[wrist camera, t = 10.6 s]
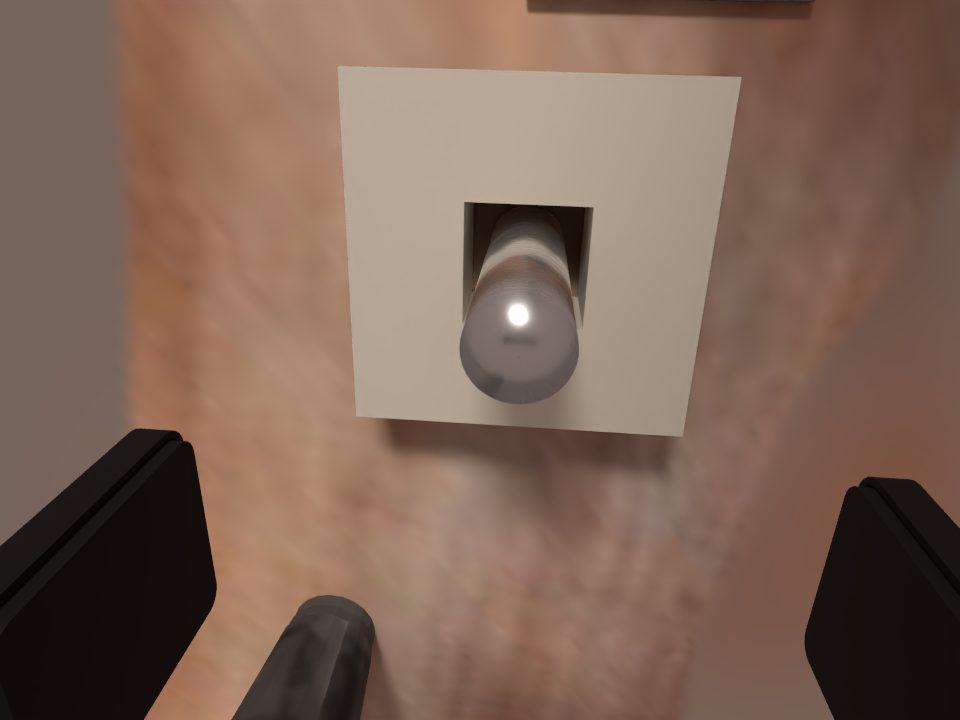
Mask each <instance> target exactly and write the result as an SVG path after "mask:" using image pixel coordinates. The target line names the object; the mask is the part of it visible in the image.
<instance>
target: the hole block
mask: <svg viewBox="0 0 960 720" xmlns="http://www.w3.org/2000/svg"><path fill="white" fill-rule="evenodd" d="M741 79H742V77H725V76H688V75H651V74H614V73H577V72H540V71H503V70H466V69H429V68H392V67H355V66H338V82H339V101H340V120H341V138H342V157H343V176H344V195H345V213H346V232H347V251H348V270H349V288H350V307H351V326H352V345H353V363H354V382H355V401H356V416H358V417H374V418H390V419H406V420H422V421H438V422H454V423H470V424H486V425H502V426H518V427H534V428H550V429H566V430H582V431H598V432H614V433H630V434H646V435H662V436H678V437H683V431H684V425H685V419H686V413H687V406H688V400H689V394H690V388H691V382H692V376H693V370H694V364H695V358H696V352H697V346H698V340H699V334H700V328H701V321H702V315H703V309H704V303H705V297H706V291H707V285H708V279H709V273H710V267H711V261H712V255H713V249H714V243H715V236H716V230H717V224H718V218H719V212H720V206H721V200H722V194H723V188H724V182H725V176H726V170H727V164H728V158H729V152H730V145H731V139H732V133H733V127H734V121H735V115H736V109H737V103H738V97H739V91H740V85H741ZM474 202H476V203H501V204H526V205H551V206H575V207H585V213H584V225H583V236H582V248H581V260H580V271H579V283H578V295H577V297H572V299H573V306H574V313H575V321H576V328H577V335H578V342H579V357H578V362H577V365H576V368H575V370H574V373H573V375H572V376H571V378H570V379H569V381H568V382H567V383H566V384H565V385H564V387H562V388H561V389H560V390H559V391H558V392H556V393H555V394H554V395H552V396H550V397H548V398H546V399H544V400H541V401H539V402H534V403H529V404H511V403H505V402H501V401H498V400H496V399H493V398H491V397H489V396H488V395H486V394H485V393H483V392H482V391H480V390H479V389H478V388H477V387H476V386H475V385H474V384H473V383H472V382H471V380H470V379H469V378H468V376H467V374H466V372H465V371H464V369H463V366H462V363H461V358H460V350H459V345H460V338H461V333H462V330H463V327H464V324H465V320H466V317H467V314H468V311H469V308H470V304H471V301H472V298H473V295H474V292H472V279H473V232H474Z"/></svg>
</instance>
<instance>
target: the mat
mask: <svg viewBox="0 0 960 720" xmlns="http://www.w3.org/2000/svg"><path fill="white" fill-rule="evenodd" d="M718 1H769V2H813V1H815V0H718Z"/></svg>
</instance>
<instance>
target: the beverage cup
mask: <svg viewBox="0 0 960 720" xmlns="http://www.w3.org/2000/svg"><path fill="white" fill-rule="evenodd" d="M373 639H374V626H373V623H372V619H371V618H370V616H369V615H368V614H367V612H366V611H365V610H364V609H363V608H361V607H360V606H359V605H357V604H356V603H355V602H353V601H350V600H348V599H345V598H343V597H338V596H332V595H327V596H317V597H315V598H312V599H310V600H307V601H306V602H305V603H304V604H302V605H301V606H300V607H299V609H298V611H297V613H296V615H295V616H294V617H293V619H292V621H291V622H290V624H289V625H288V626H287V627H286V628H285V630H284V632H283V633H282V635H281V637H280V638H279V640H278V642H277V643H276V645H275V647H274V649H273V650H272V652H271V654H270V655H269V657H268V659H267V660H266V662H265V664H264V666H263V667H262V669H261V671H260V672H259V674H258V676H257V677H256V679H255V681H254V682H253V684H252V686H251V688H250V689H249V691H248V693H247V694H246V696H245V698H244V699H243V701H242V703H241V705H240V706H239V708H238V710H237V711H236V713H235V715H234V716H233V718H232V720H360V716H361V711H362V705H363V700H364V695H365V689H366V684H367V679H368V673H369V668H370V662H371V649H372V642H373Z"/></svg>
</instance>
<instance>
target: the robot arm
mask: <svg viewBox="0 0 960 720" xmlns="http://www.w3.org/2000/svg"><path fill="white" fill-rule="evenodd" d="M216 590H217V584H216V577H215V571H214V565H213V560H212V554H211V548H210V542H209V536H208V530H207V524H206V519H205V513H204V507H203V501H202V495H201V489H200V483H199V478H198V472H197V466H196V460H195V454H194V450H193V447H192V445H191V443H189V442H187V441H183V438H182V437H181V435H180V434H179V433H178V432H176V431H170V430H155V429H134V430H133V431H131V432H130V433H128V434H127V435H126V436H125V437H124V438H123V439H122V440H120V441H119V442H118V443H117V444H116V445H115V446H114V447H113V448H111V449H110V450H109V451H108V452H107V453H106V454H105V455H103V456H102V457H101V458H100V459H99V460H98V461H97V462H96V463H94V464H93V465H92V466H91V467H90V468H89V469H88V470H86V471H85V472H84V473H83V474H82V475H81V476H80V477H79V478H77V479H76V480H75V481H74V482H73V483H72V484H70V485H69V486H68V487H67V488H66V489H65V490H64V491H63V492H61V493H60V494H59V495H58V496H57V497H56V498H55V499H54V500H52V501H51V502H50V503H49V504H48V505H47V506H46V507H44V508H43V509H42V510H41V511H40V512H39V513H38V514H36V516H34V517H33V518H32V519H31V520H30V521H29V522H27V523H26V524H25V525H24V526H23V527H22V528H21V529H19V530H18V531H17V532H16V533H15V534H14V535H13V536H12V537H10V538H9V539H8V540H7V541H6V542H5V543H3V544H2V545H1V546H0V720H144V718H145V717H146V715H147V714H148V712H149V710H150V709H151V707H152V705H153V704H154V702H155V701H156V699H157V697H158V696H159V694H160V692H161V691H162V689H163V687H164V686H165V684H166V683H167V681H168V679H169V678H170V676H171V674H172V673H173V671H174V670H175V668H176V666H177V665H178V663H179V661H180V660H181V658H182V656H183V655H184V653H185V652H186V650H187V648H188V647H189V645H190V643H191V642H192V640H193V639H194V637H195V635H196V634H197V632H198V630H199V629H200V627H201V625H202V624H203V622H204V621H205V619H206V617H207V616H208V614H209V612H210V611H211V609H212V607H213V604H214V601H215V597H216ZM805 651H806V656H807V659H808V662H809V664H810V666H811V668H812V671H813V673H814V675H815V677H816V680H817V682H818V684H819V686H820V688H821V691H822V693H823V695H824V697H825V699H826V702H827V704H828V706H829V709H830V711H831V713H832V715H833V717H834V720H960V528H959V527H958V526H957V525H956V524H955V523H954V522H953V521H952V520H951V518H950V517H949V516H948V515H947V514H946V513H945V512H944V511H943V510H942V509H941V507H940V506H939V505H938V504H937V503H936V502H935V501H934V500H933V499H932V497H931V496H930V495H929V494H928V493H927V492H926V491H925V490H924V489H923V488H922V486H921V485H920V484H918V483H917V482H916V481H914V480H909V479H894V478H878V477H867V478H865V479H863V480H862V482H861V483H860V484H859V487H856V486H853V487H851V488H849V489H848V491H847V492H846V495H845V498H844V501H843V504H842V508H841V511H840V515H839V518H838V522H837V525H836V528H835V532H834V536H833V539H832V542H831V546H830V549H829V553H828V556H827V559H826V563H825V566H824V570H823V573H822V577H821V580H820V583H819V587H818V590H817V594H816V597H815V601H814V604H813V607H812V611H811V614H810V618H809V621H808V625H807V628H806V632H805Z"/></svg>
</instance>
